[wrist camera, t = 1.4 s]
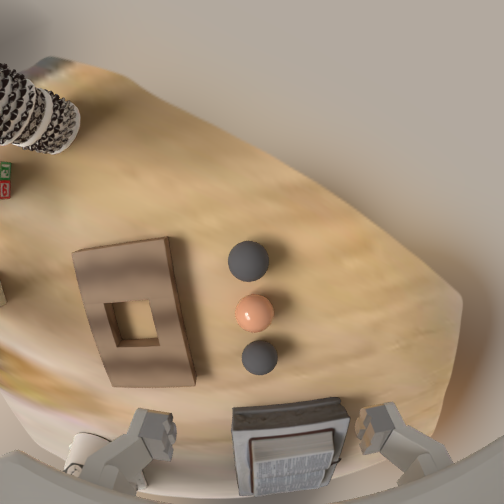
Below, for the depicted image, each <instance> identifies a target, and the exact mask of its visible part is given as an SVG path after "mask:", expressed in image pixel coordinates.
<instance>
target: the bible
mask: <svg viewBox="0 0 504 504" xmlns="http://www.w3.org/2000/svg"><path fill="white" fill-rule="evenodd" d="M340 403H341V400H340V399H339V398H337V397H330V398H324V399H317V400H311V401H303V402H296V403H288V404H277V405H268V406H253V407H238V408H232V409H233V417H232V428H231V433H232V441H233V450H234V452H233V454H234V461H235V468H236V476H237V484H238V488H239V495H240V496H251V495H254V497H258V496H264V495H269V494H275V493H284V492H292V491H298V490H306V489H317V488H319V487H322V486H327V485H328V484H329V482H330V480H331V478H332V475H333V472H334V470H335V467H336V465H337V463H338V462H339V461H340V460H341V458H339V457H340V454H341V451H342V448H343V445H344V441H345V437H346V434H347V430H348V426H349V423H350V417H349V416H348V414H347V411H346V410H345V408H344V407H343V406H342V405H341V404H340Z"/></svg>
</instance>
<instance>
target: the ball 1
mask: <svg viewBox="0 0 504 504" xmlns="http://www.w3.org/2000/svg"><path fill="white" fill-rule="evenodd" d="M228 265H229V269H230V271H231V273H232V274H233V275H234V276H235V277H236V278H238V279H239V280H241V281H245V282H252V281H256V280H258V279H260V278H261V277H262V276H263V275H264V274H265V273H266V271H267V269H268V265H269V257H268V254H267V252H266V250H265V249H264V247H263V246H261V245H260V244H258V243H257V242H253V241H244V242H241V243H238V244H237V245H236V246H234V247H233V249H232V250H231V252H230V254H229V257H228Z"/></svg>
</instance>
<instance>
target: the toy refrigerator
mask: <svg viewBox="0 0 504 504" xmlns="http://www.w3.org/2000/svg"><path fill="white" fill-rule="evenodd" d="M6 303H7V301H6V298H5V295H4V292H3V288H2V285H1V282H0V307H1V306H3V305H5V304H6Z"/></svg>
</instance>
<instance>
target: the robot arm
mask: <svg viewBox="0 0 504 504" xmlns="http://www.w3.org/2000/svg"><path fill="white" fill-rule="evenodd" d="M359 414H360V417H358V418H357V419H356V422H355V433H356V436H357V438H359V439H360V440H361V442H360V444H359V445H360V448H361V451H362V454H363V455H366V454H371V453H376V452H380V453H381V454H382V455H383V456H384V457H386V458H387V459H388V460H389V461H391V462H392V463H393V464H394V465H396V466H397V467H398V468H399V469H400V470H402V471H403V472H404V474H403V475H402V476H401V477H400V479H399V480H398V482H397V483H398V487H394V488H391V489H388V490H385V491H381V492H378V493H374V494H370V495H366V496H362V497H358V498H354V499H349V500H345V501H340V502H334V503H329V504H504V435H503V436H501V437H499V438H498V439H496V440H495V441H493V442H492V443H490V444H488V445H487V446H485V447H483V448H482V449H480V450H478V451H477V452H475V453H473V454H471V455H469V456H468V457H466V458H464V459H462V460H460V461H458V462H456V463H453V461H452V459H451V457H450V455H449V453H448V452H447V450H446V448H445V446H444V445H443V444H441V443H439V442H437V441H436V440H434V439H432V438H430V437H428V436H427V435H425V434H423V433H421V432H420V431H418V430H416V429H414V428H413V427H411V426H409V425H408V426H406V425H405V423H404V421H403V419H402V417H401V415H400V413H399V411H398V409H397V407H396V406H395V404H394V403H393V402H388V403H384V404H378V405H373V406H368V407H363V408H361V410H360V412H359ZM172 421H173V416H172V413H167V412H161V411H154V410H149V409H143V408H138V409H137V410H136V411H135V414H134V416H133V419H132V422H131V424H130V427H129V429H128V432H127V434H123V435H121V436H120V437H118V438H117V439H115V440H114V441H112V442H109V441H107V440H105V439H103V438H101V437H98V436H95V435H92V434H87V433H79V434H76V435H75V436H74V439H73V443H71V444H70V445H69V449H70V452H69V454H68V457H67V460H66V463H65V467H64V469H65V470H64V471H61V470H58V469H56V468H54V467H52V466H50V465H48V464H46V463H44V462H41V461H40V460H38V459H36V458H34V457H32V456H30V455H28V454H27V453H25V452H23V451H20V450H14V451H11V452H9V453H6V454H4V455H1V456H0V504H170V503H165V502H159V501H154V500H150V499H145V498H141V497H137V496H136V491H138V489H145V488H147V483H146V480H145V477H144V475H143V472H142V469H143V468H144V467H145V466H146V465H148V464H149V463H150V462H151V461H152V459H157V460H164V461H171V459H172V454H173V447H172V444H174V443H175V441H176V434H177V430H176V425H175V423H174V422H172Z"/></svg>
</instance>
